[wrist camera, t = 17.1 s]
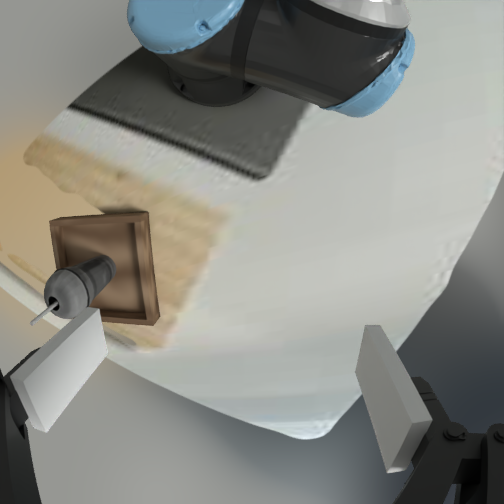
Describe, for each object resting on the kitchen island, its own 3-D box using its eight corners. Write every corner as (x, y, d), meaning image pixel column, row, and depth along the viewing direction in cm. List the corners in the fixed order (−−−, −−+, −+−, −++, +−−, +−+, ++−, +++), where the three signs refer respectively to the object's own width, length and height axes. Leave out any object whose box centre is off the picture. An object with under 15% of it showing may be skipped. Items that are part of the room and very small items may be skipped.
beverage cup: (131, 267, 50) (64, 321, 31) (110, 295, 52) (45, 354, 33) (100, 238, 49) (23, 277, 30) (81, 267, 51) (8, 314, 32)
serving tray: (60, 217, 50) (49, 221, 46) (148, 211, 48) (139, 215, 45) (76, 310, 54) (67, 317, 51) (160, 316, 53) (153, 325, 50)
